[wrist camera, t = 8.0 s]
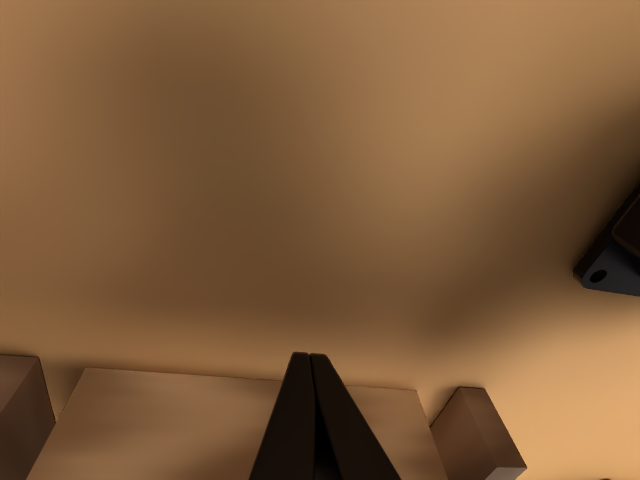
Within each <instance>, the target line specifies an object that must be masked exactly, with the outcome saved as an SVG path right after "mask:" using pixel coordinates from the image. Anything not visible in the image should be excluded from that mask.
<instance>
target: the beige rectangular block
mask: <svg viewBox="0 0 640 480" xmlns="http://www.w3.org/2000/svg"><path fill="white" fill-rule="evenodd" d="M281 384H282V381H274V380H259V379H245V378H231V377H217V376H202V375H188V374H174V373H159V372H145V371H131V370H116V369H102V368H88V367H86V368H85V370H84V372H83V373H82V375H81V377H80V379H79V381H78V383H77V385H76V387H75V389H74V390H73V392H72V394H71V396H70V398H69V400H68V402H67V404H66V405H65V407H64V409H63V411H62V413H61V415H60V417H59V419H58V420H57V422H56V424H55V426H54V428H53V430H52V432H51V434H50V435H49V437H48V439H47V441H46V443H45V445H44V447H43V449H42V450H41V452H40V454H39V456H38V458H37V460H36V462H35V464H34V465H33V467H32V469H31V471H30V473H29V475H28V477H27V479H26V480H248V478H249V475H250V472H251V470H252V467H253V464H254V461H255V458H256V455H257V452H258V450H259V447H260V444H261V441H262V438H263V435H264V432H265V430H266V427H267V424H268V421H269V418H270V415H271V413H272V410H273V407H274V404H275V401H276V398H277V395H278V393H279V390H280V387H281ZM345 387H346V388H347V390H348V392H349V393H350V395H351V397H352V398H353V400H354V401H355V403H356V405H357V406H358V408H359V410H360V411H361V413H362V415H363V416H364V418H365V420H366V421H367V423H368V425H369V426H370V428H371V429H372V431H373V433H374V434H375V436H376V438H377V439H378V441H379V443H380V444H381V446H382V448H383V449H384V451H385V453H386V454H387V456H388V458H389V459H390V461H391V462H392V464H393V466H394V467H395V469H396V471H397V472H398V474H399V476H400V477H401V479H402V480H448V478H447V475H446V472H445V469H444V466H443V464H442V461H441V458H440V455H439V453H438V450H437V447H436V444H435V442H434V439H433V436H432V433H431V430H430V428H429V425H428V422H427V419H426V417H425V414H424V411H423V408H422V406H421V403H420V400H419V397H418V394H417V392H416V390H402V389H388V388H374V387H359V386H345Z"/></svg>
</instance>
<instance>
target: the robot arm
mask: <svg viewBox="0 0 640 480" xmlns="http://www.w3.org/2000/svg"><path fill="white" fill-rule="evenodd" d="M573 277H574V279H575V280H577V281H578V282H579V283H580V284H581V285H582V286H583V287H585V288H587V289H593V290H600V291H606V292H613V293H620V294H626V295H633V296H640V183H639V185H638V186H637V187H636V189H635V190H634V191H633V193H632V194H631V195H630V196H629V198H628V199H627V200H626V202H625V203H624V204H623V205H622V207H621V208H620V209H619V211H618V212H617V213H616V215H615V216H614V217H613V218H612V220H611V221H610V222H609V224H608V225H607V226H606V227H605V229H604V230H603V231H602V233H601V234H600V235H599V237H598V238H597V239H596V240H595V242H594V243H593V244H592V246H591V247H590V248H589V249H588V251H587V252H586V253H585V255H584V256H583V257H582V259H581V260H580V261H579V262H578V264H577V265H576V266H575V268H574V270H573ZM248 480H402V479H401V477H400V476H399V474H398V472H397V471H396V469H395V467H394V466H393V464H392V462H391V461H390V459H389V458H388V456H387V454H386V453H385V451H384V449H383V448H382V446H381V444H380V443H379V441H378V439H377V438H376V436H375V434H374V433H373V431H372V429H371V428H370V426H369V425H368V423H367V421H366V420H365V418H364V416H363V415H362V413H361V411H360V410H359V408H358V406H357V405H356V403H355V401H354V400H353V398H352V397H351V395H350V393H349V392H348V390H347V388H346V387H345V385H344V383H343V382H342V380H341V378H340V377H339V375H338V373H337V372H336V370H335V369H334V367H333V365H332V364H331V362H330V360H329V359H328V357H327V356H326V355H325V354H320V353H310V354H308V353H306V352H293V353H292V356H291V358H290V361H289V364H288V367H287V370H286V373H285V375H284V378H283V381H282V384H281V387H280V390H279V393H278V395H277V398H276V401H275V404H274V407H273V410H272V413H271V415H270V418H269V421H268V424H267V427H266V430H265V432H264V435H263V438H262V441H261V444H260V447H259V450H258V452H257V455H256V458H255V461H254V464H253V467H252V470H251V472H250V475H249V478H248Z"/></svg>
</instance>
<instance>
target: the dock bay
mask: <svg viewBox="0 0 640 480" xmlns="http://www.w3.org/2000/svg"><path fill="white" fill-rule="evenodd" d="M54 426H55V420H54V416H53V412H52V408H51V404H50V400H49V397H48V393H47V389H46V385H45V381H44V377H43V373H42V369H41V365H40V361H39V358H37V357H23V356H8V355H0V480H26V479H27V477H28V475H29V473H30V471H31V469H32V467H33V465H34V464H35V462H36V460H37V458H38V456H39V454H40V452H41V450H42V449H43V447H44V445H45V443H46V441H47V439H48V437H49V435H50V434H51V432H52V430H53V428H54ZM430 430H431V433H432V436H433V439H434V442H435V444H436V447H437V450H438V453H439V455H440V458H441V461H442V464H443V466H444V469H445V472H446V475H447V478H448V480H515V479H516V478H517V477H518V476H519V475H520V474H521V473H523V472H524V471H525V470H526V469H527V466H526V464H525V462H524V460H523V459H522V457H521V455H520V453H519V451H518V449H517V447H516V446H515V444H514V442H513V440H512V438H511V436H510V434H509V433H508V431H507V429H506V427H505V425H504V423H503V421H502V420H501V418H500V416H499V414H498V412H497V410H496V409H495V407H494V405H493V403H492V401H491V399H490V397H489V396H488V394H487V392H486V390H485V389H477V388H463V387H459V388H458V390H457V391H456V392H455V394H454V395H453V397H452V398H451V399H450V401H449V402H448V404H447V405H446V406H445V408H444V409H443V410H442V412H441V413H440V415H439V416H438V417H437V419H436V420H435V422H434V423H433V424H432V426H431V427H430Z"/></svg>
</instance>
